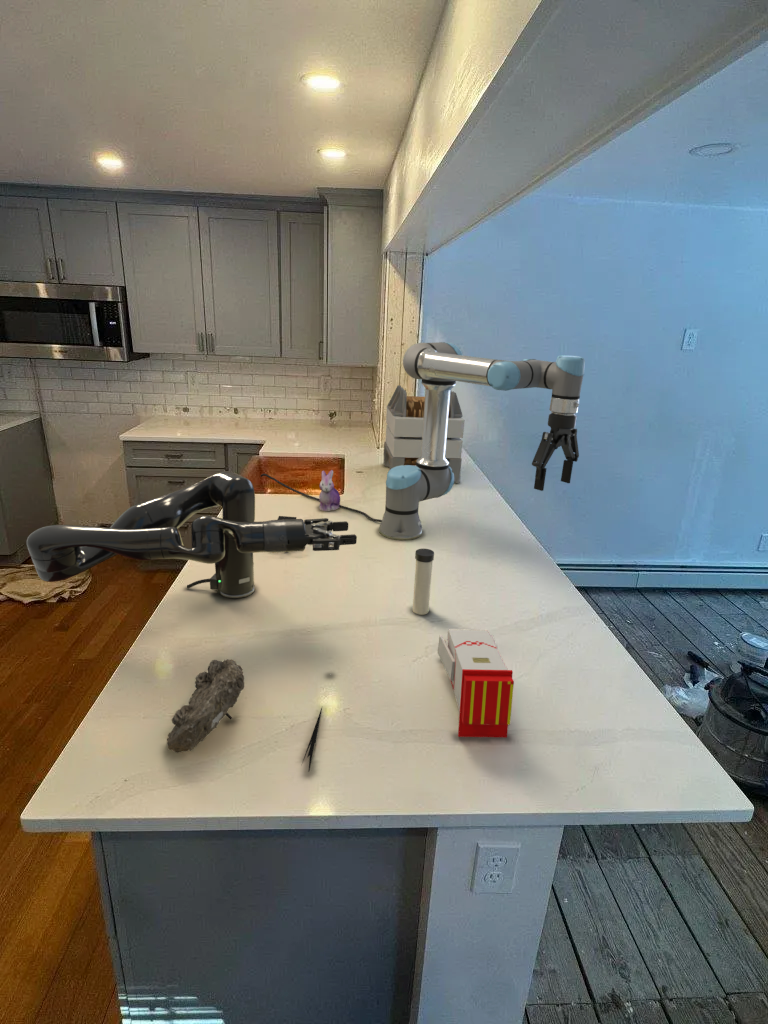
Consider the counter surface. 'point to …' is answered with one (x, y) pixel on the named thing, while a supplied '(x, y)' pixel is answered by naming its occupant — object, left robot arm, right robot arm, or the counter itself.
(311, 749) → the feather
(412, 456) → the transformer
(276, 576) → the counter surface
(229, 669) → the fossil
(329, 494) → the figurine
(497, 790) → the counter surface
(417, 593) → the white cylinder
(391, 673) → the counter surface
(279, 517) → the figurine character
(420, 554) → the lid
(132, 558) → the left robot arm
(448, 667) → the toy
